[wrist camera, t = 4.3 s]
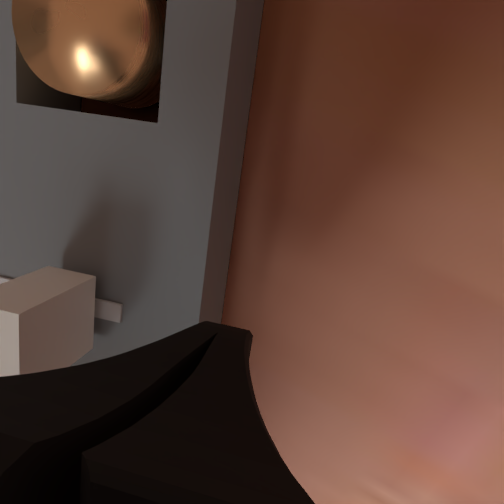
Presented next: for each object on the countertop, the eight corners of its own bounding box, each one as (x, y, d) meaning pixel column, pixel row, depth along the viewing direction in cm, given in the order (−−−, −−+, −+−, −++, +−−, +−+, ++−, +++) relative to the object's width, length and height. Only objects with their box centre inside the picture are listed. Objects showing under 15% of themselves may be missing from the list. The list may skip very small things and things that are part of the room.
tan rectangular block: (93, 348, 12) (19, 405, 9) (47, 336, 13) (-37, 389, 10) (95, 276, 12) (18, 314, 9) (48, 265, 12) (-42, 299, 9)
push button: (179, 115, 13) (134, 102, 10) (80, 101, 14) (12, 86, 11) (190, -9, 12) (144, -61, 9) (84, -18, 13) (10, -68, 10)
